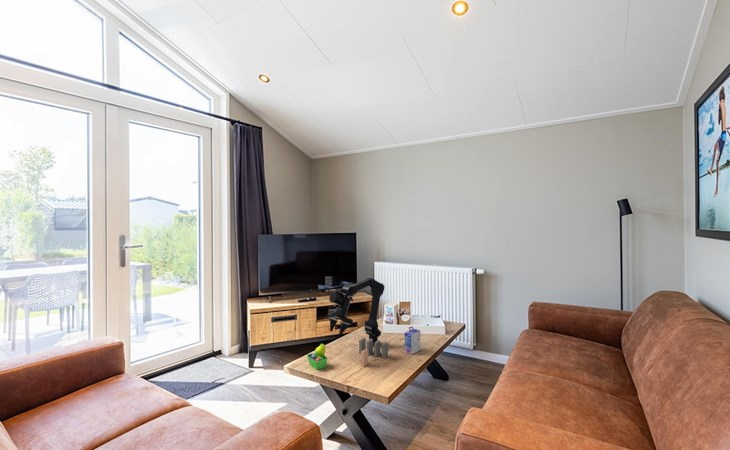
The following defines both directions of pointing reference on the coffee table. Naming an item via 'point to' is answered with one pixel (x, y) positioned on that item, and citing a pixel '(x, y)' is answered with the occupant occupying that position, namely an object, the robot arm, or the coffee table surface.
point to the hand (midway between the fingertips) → (335, 333)
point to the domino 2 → (364, 357)
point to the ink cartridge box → (412, 341)
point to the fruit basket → (318, 357)
